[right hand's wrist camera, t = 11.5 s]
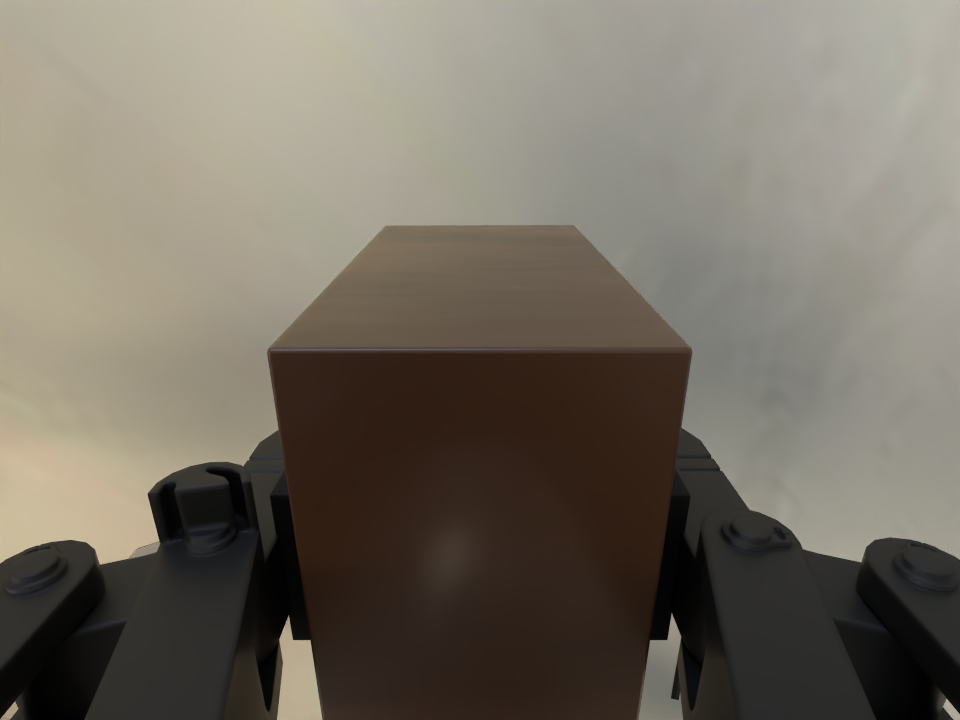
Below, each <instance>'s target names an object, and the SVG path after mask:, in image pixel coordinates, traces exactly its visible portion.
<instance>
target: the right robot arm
mask: <svg viewBox="0 0 960 720" xmlns="http://www.w3.org/2000/svg"><path fill="white" fill-rule="evenodd" d="M148 498H149V501H150V505H151V509H152V513H153V517H154V521H155V525H156V529H157V533H158V536H159V540H160V545H159V547H158V550H157V552H155V553H152V554H148V555H144V556H140V557H135V558H131V559H126V560H121V561H116V562H112V563H107V564H102V565H100V564H99V561H98V558H97V555H96V552H95V549H94V548H92V547H91V546H90V545H89V544H87V543H86V542H80V541H74V540H67V541H58V542H50V543H46V544H41V545H40V546H35V547H32V548H29V549H26V550H24V551H23V552H21V553H19V554H17V555H15V556H12V557H10V558H8V559H6V560H5V561H3V562H2V563H1V564H0V719H1V717H2V716H3V715H4V714H5V712H6V711H7V710H8V709H9V708H10V706H11V705H12V704H13V703H14V702H16V704H17V706H18V710H17V712H16V713H15V714H14V715H13V717H12V718H11V719H10V720H277V713H278V704H279V694H280V685H281V675H282V666H283V661H282V654H281V648H280V642H279V638H280V636H281V633H282V631H283V628H284V626H285V623H286V621H287V618H288V615H289V618H290V624H291V630H292V636H293V640H311V639H310V633H309V626H308V619H307V613H306V606H305V600H304V593H303V586H302V580H301V573H300V567H299V560H298V553H297V547H296V540H295V533H294V527H293V520H292V514H291V507H290V500H289V494H288V487H287V480H286V474H285V467H284V461H283V454H282V447H281V441H280V434H279V430H278V431H276V432H275V433H273V434H272V435H270V436H269V437H267V438H266V439H264V440H263V441H261V442H260V443H259V445H258V446H257V448H256V449H255V451H254V452H253V453H252V455H251V456H250V460H249V461H247V462H246V463H245V465H244V466H242V465H238V464H233V463H229V462H209V463H204V464H199V465H194V466H190V467H187V468H185V469H182V470H180V471H177V472H174V473H172V474H170V475H169V476H167V477H166V478H164V479H162V480H161V481H159V482H158V483H157V484H156V485H155V486H154V487H153V488H152V489H151V490H150V492H149V493H148ZM671 614H673V617H674V619H675V622H676V624H677V627H678V629H679V632H680V634H681V642H680V648H679V654H678V660H677V665H676V671H675V677H674V682H673V688H672V695H671V699H676V700H679V695H680V693H681V702H682V712H683V720H953V719H952V718H951V716H950V715H949V714H948V713H947V712H946V710H945V709H944V708H943V705H944V703H945V701H946V698H947V699H948V700H949V702H950V703H951V704H952V705H953V706H954V708H955V709H956V710H957V711H958V712H959V714H960V560H959V559H957V558H956V557H954V556H952V555H950V554H948V553H946V552H944V551H942V550H940V549H938V548H936V547H934V546H931V545H928V544H925V543H921V542H918V541H913V540H908V539H899V538H885V539H879V540H874V541H873V542H872V543H871V544H870V545H868V546H867V547H866V550H865V553H864V556H863V560H862V563H861V562H856V561H851V560H846V559H842V558H837V557H832V556H827V555H822V554H818V553H814V552H811V551H807V550H803V549H802V546H801V544H800V542H799V541H798V539H797V538H796V537H795V535H794V534H793V533H792V531H791V530H789V529H788V528H787V527H785V526H784V525H783V524H781V523H780V522H779V521H777V520H775V519H773V518H771V517H768V516H766V515H764V514H762V513H759V512H755V511H751V510H749V509H748V507H747V506H746V504H745V503H744V502H743V500H742V499H741V497H740V496H739V494H738V493H737V492H736V490H735V489H734V487H733V486H732V485H731V483H730V482H729V480H728V479H727V477H726V476H725V475H724V473H723V472H722V471H720V468H719V466H718V465H717V463H716V462H715V460H714V459H711V455H710V453H709V452H708V450H707V449H706V448H705V446H704V445H703V443H702V442H701V441H700V440H699V439H697V438H696V437H694V436H693V435H691V434H690V433H688V432H687V431H685V430H684V429H682V428H681V432H680V438H679V445H678V452H677V459H676V466H675V472H674V479H673V486H672V493H671V500H670V507H669V513H668V520H667V527H666V534H665V541H664V548H663V554H662V561H661V568H660V575H659V582H658V588H657V595H656V602H655V609H654V616H653V623H652V629H651V636H650V640H667V638H668V632H669V626H670V620H671Z"/></svg>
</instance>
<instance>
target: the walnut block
mask: <svg viewBox="0 0 960 720" xmlns="http://www.w3.org/2000/svg"><path fill="white" fill-rule="evenodd" d="M267 355H268V361H269V368H270V375H271V381H272V388H273V394H274V401H275V408H276V414H277V421H278V428H279V434H280V441H281V447H282V454H283V461H284V467H285V474H286V480H287V487H288V494H289V500H290V507H291V514H292V520H293V527H294V533H295V540H296V547H297V553H298V560H299V567H300V573H301V580H302V586H303V593H304V600H305V606H306V613H307V619H308V626H309V633H310V639H311V646H312V653H313V659H314V666H315V672H316V679H317V686H318V692H319V699H320V706H321V712H322V719H323V720H638V718H639V711H640V704H641V698H642V691H643V684H644V677H645V670H646V663H647V657H648V650H649V643H650V636H651V629H652V623H653V616H654V609H655V602H656V595H657V588H658V582H659V575H660V568H661V561H662V554H663V548H664V541H665V534H666V527H667V520H668V513H669V507H670V500H671V493H672V486H673V479H674V472H675V466H676V459H677V452H678V445H679V438H680V432H681V425H682V418H683V411H684V404H685V397H686V391H687V384H688V377H689V370H690V363H691V357H692V349H691V348H690V346H689V345H688V344H687V343H686V342H685V341H684V340H683V339H682V338H681V337H680V336H679V335H678V334H677V333H676V332H675V331H674V330H673V329H672V328H671V327H670V326H669V324H668V323H667V322H666V321H665V320H664V319H663V318H662V317H661V316H660V315H659V314H658V313H657V312H656V311H655V310H654V309H653V308H652V307H651V306H650V305H649V304H648V303H647V301H646V300H645V299H644V298H643V297H642V296H641V295H640V294H639V293H638V292H637V291H636V290H635V289H634V288H633V287H632V286H631V285H630V284H629V283H628V282H627V281H626V280H625V278H624V277H623V276H622V275H621V274H620V273H619V272H618V271H617V270H616V269H615V268H614V267H613V266H612V265H611V264H610V263H609V262H608V261H607V260H606V259H605V258H604V257H603V255H602V254H601V253H600V252H599V251H598V250H597V249H596V248H595V247H594V246H593V245H592V244H591V243H590V242H589V241H588V240H587V239H586V238H585V237H584V236H583V235H582V234H581V232H580V231H579V230H578V229H577V228H576V227H575V226H573V225H539V226H385V227H384V228H383V229H382V230H381V231H380V232H379V233H378V234H377V235H376V236H375V237H374V239H373V240H372V241H371V242H370V243H369V244H368V245H367V246H366V247H365V248H364V249H363V250H362V251H361V252H360V253H359V254H358V255H357V256H356V257H355V258H354V260H353V261H352V262H351V263H350V264H349V265H348V266H347V267H346V268H345V269H344V270H343V271H342V272H341V273H340V274H339V275H338V276H337V277H336V278H335V279H334V280H333V282H332V283H331V284H330V285H329V286H328V287H327V288H326V289H325V290H324V291H323V292H322V293H321V294H320V295H319V296H318V297H317V298H316V299H315V300H314V301H313V303H312V304H311V305H310V306H309V307H308V308H307V309H306V310H305V311H304V312H303V313H302V314H301V315H300V316H299V317H298V318H297V319H296V320H295V321H294V322H293V323H292V325H291V326H290V327H289V328H288V329H287V330H286V331H285V332H284V333H283V334H282V335H281V336H280V337H279V338H278V339H277V340H276V341H275V342H274V343H273V344H272V346H271V347H270V348H269V349H268V352H267Z"/></svg>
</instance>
